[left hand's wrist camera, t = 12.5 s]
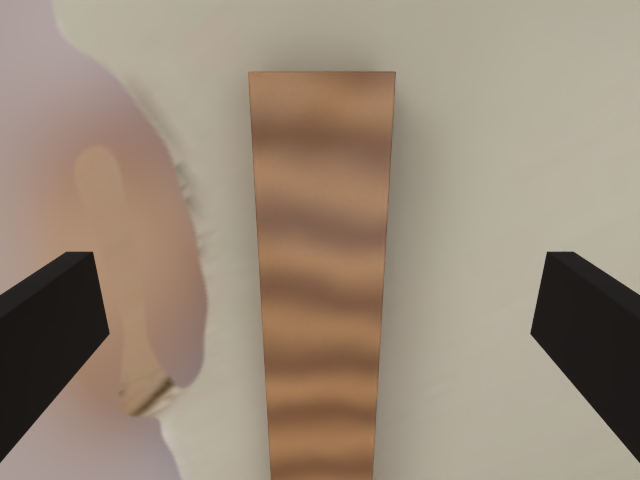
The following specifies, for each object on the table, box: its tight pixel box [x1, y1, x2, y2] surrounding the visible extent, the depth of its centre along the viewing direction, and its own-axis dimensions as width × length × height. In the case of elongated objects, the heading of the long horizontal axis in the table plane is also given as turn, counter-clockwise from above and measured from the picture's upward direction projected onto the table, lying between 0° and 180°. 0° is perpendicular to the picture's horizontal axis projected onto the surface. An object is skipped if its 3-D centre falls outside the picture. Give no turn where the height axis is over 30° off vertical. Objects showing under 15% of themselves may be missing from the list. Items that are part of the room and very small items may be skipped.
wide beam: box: [248, 72, 396, 480], centre depth 41 cm, size 67×9×6 cm, turn 0°
